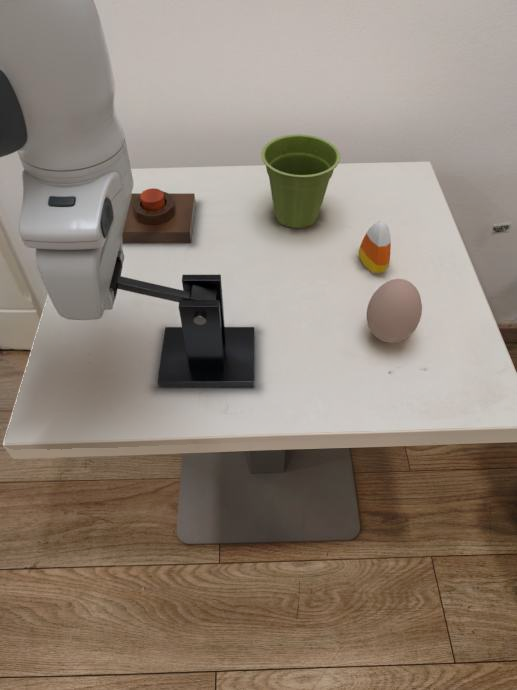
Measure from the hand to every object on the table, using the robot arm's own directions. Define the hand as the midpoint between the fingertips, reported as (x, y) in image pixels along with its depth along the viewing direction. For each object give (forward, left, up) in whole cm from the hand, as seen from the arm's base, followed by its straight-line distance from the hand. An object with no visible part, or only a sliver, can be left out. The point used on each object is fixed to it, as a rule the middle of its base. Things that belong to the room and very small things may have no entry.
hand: (111, 284), depth 57 cm
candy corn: (+34, +18, -14) cm, 41 cm away
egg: (+34, +4, -14) cm, 37 cm away
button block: (0, +28, -14) cm, 31 cm away
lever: (+5, 0, -2) cm, 5 cm away
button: (0, +28, -10) cm, 30 cm away
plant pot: (+23, +30, -14) cm, 40 cm away
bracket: (+10, 0, -14) cm, 17 cm away
